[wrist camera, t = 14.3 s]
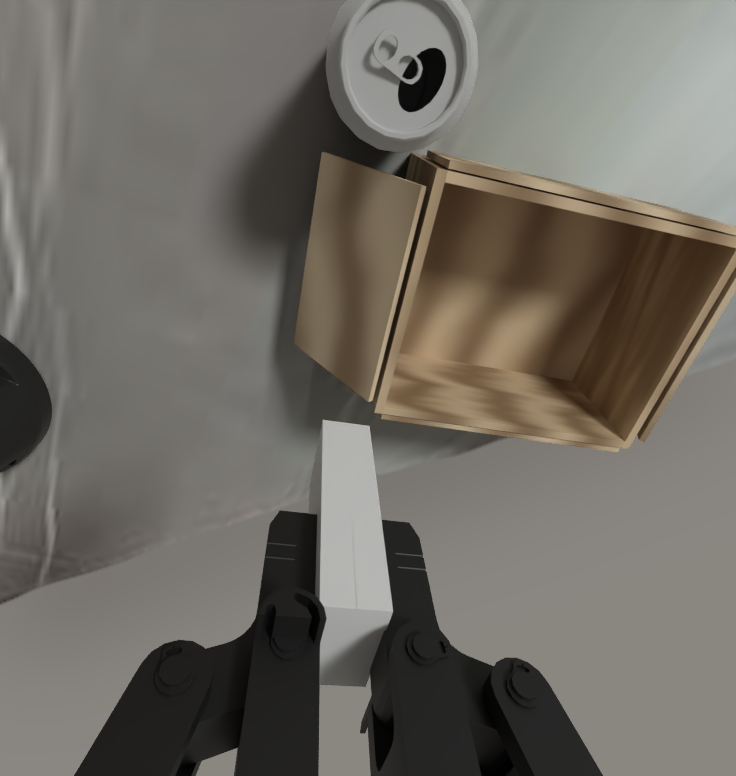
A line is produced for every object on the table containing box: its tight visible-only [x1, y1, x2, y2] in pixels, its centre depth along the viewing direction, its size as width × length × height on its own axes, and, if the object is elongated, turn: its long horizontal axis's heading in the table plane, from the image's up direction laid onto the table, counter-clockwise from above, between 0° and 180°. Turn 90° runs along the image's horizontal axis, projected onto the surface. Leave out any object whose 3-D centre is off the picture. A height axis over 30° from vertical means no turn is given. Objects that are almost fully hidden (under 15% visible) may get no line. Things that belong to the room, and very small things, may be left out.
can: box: [325, 0, 478, 153], centre depth 27 cm, size 8×8×12 cm
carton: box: [373, 150, 736, 452], centre depth 36 cm, size 20×17×10 cm
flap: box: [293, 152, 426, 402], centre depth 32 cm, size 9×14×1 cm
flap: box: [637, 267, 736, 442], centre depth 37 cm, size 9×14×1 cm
